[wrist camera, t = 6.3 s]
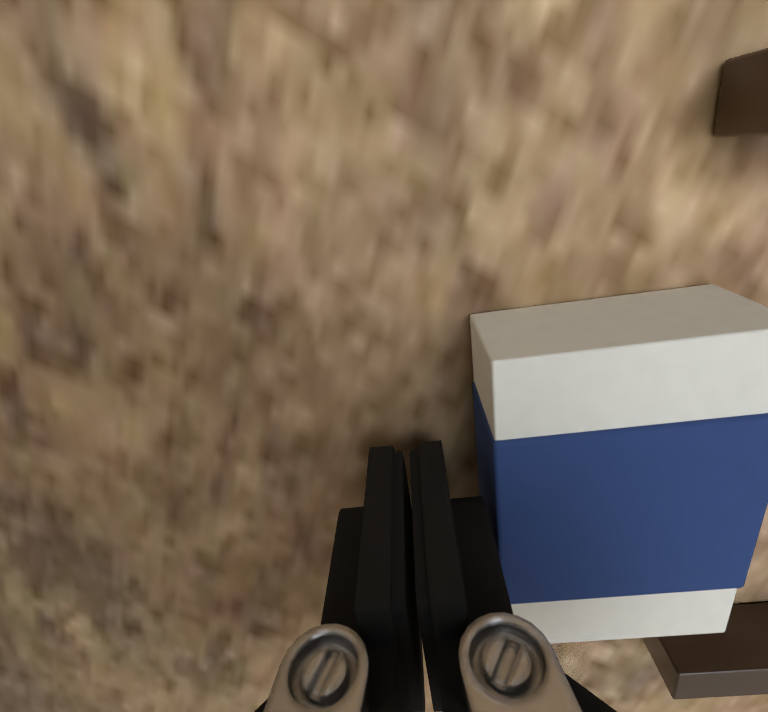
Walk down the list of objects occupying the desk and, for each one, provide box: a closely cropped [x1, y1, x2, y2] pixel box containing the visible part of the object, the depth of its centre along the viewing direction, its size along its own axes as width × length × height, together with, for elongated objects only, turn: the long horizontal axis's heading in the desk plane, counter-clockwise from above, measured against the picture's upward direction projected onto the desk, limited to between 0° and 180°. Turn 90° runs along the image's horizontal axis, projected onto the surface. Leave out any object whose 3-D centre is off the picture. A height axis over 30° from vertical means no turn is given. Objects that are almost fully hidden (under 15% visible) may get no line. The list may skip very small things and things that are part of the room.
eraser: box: [470, 284, 768, 644], centre depth 10 cm, size 8×5×2 cm
